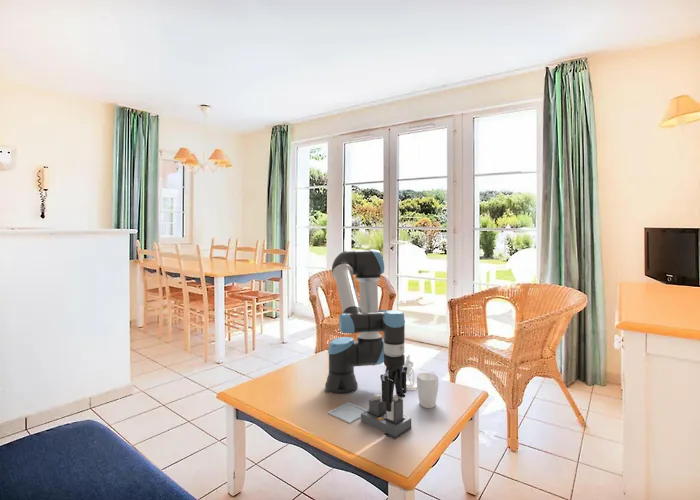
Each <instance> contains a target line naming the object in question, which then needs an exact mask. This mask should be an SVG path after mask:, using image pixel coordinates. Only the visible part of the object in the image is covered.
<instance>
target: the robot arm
mask: <svg viewBox="0 0 700 500" xmlns="http://www.w3.org/2000/svg"><path fill="white" fill-rule="evenodd" d="M331 273H332V277H333V279H334V280H335V283H336V287H337V293H338V297H339V302H340V306H341V312H342V313H340V314H339V316H338V325H339V326H338V328H339V331H340V333H342V334H358V335H357V339H356V340H355V339H354V338H353V337H351V336H342V337H338V338H334V339H332V340H331V341H330V342H329V343H328V352H327V353H328V374H327V377H326V381H325V384H324V390H325V392H326V391H327V392H328V393H331V394H334V395H346V394H351V393H353V392H356V391H357V390H358V389H359V387H358V386H359V384H358V382H357V378H356V374H355V369H354V368H355V367H364V366H365V367H366V366H378V365H382V364H384V365H385V373H384V374H380V380H381V381H380V382H381V398H382V401H383V402H386V411H387V419H389V420H392V421H393V420H394V402H392V399H393V395H394V389H395V393H396V394H395V395H397V396H398V399H401V400H403V398H406V394H407V390H406V382H407V374H406V373H407V367H405V366H403V365H404V364H405V362H406V359H405V357H406V356H405V339H406V338H405V334H406V333H405V329H406V328H405V324H406V321H405V314H404V312H403V311H401V310H397V309H395V310H394V309H391V310H390V309H389V310H387V309H380V310H379V292H378V287H379V286H378V282H379V280H380V279H381V275H383V274H384V273H385V261H384V258H383V255H382V253H381V251H380V250H378V249H347V250H344V251H342V252H341V253H339V254H338V255H337V256H336V257H335V258H334V260H333V262H332V266H331ZM354 275H355V279H356V280H357V281H358V283H359V285H358V286H359V297H358V292H357V288H356V284H355V281H354V280H355V279H354V277H353V276H354ZM380 332H383V335H382V334H381V333H380ZM327 392H326V393H327ZM328 393H327V394H328Z"/></svg>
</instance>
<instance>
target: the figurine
mask: <svg viewBox="0 0 700 500" xmlns="http://www.w3.org/2000/svg"><path fill="white" fill-rule="evenodd" d="M410 356H411V355H410V354H407V356H405V357H406V359H405V364H404V365H403V366H405V367H407V373H406V378H408V381H407V380H406V391H416V390H417V381H416V382H415V372H414V369H413V367H414V362H413V361H412V360H410V359H411V357H410ZM417 391H418V390H417Z"/></svg>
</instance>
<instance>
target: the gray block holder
mask: <svg viewBox="0 0 700 500" xmlns="http://www.w3.org/2000/svg"><path fill="white" fill-rule="evenodd" d="M360 422H362V423H364V424H366V425H367V426H370V427H372V428H375V429H377V430H379V431H381V432H384V433H383V435H385V436H387V437H390V438H391V439H393V440H397V439H398V438H400V437H401V436H403V435H404V434H405V433H407V432H409V431H410V430H411V429H412V417H410V416H408V415H405V414H403V421H402V422H400V423H399V424H397V425H395V424H392V423H390V422H388V421H386V402H383V401H382V394H379V393H376V394H373V397H372V398H369V400H368V409H367V411H365V412H363V413H361V418H360Z"/></svg>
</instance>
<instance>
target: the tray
mask: <svg viewBox="0 0 700 500" xmlns="http://www.w3.org/2000/svg"><path fill="white" fill-rule="evenodd" d="M367 410H368V409H366V408H364V407H362V406H359V405H357V404H354V403H352V402H346V403H344V404H341V405H339V406H337V407H336V408H333V409H331V410H329V411H327V414H328V415H330V416H333V417H335V418H336V419H338V420H341V421H343V422H345V423H347V424H352V423H354V422H356V421H357V420H359V419H361V413H363V412H365V411H367Z"/></svg>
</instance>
